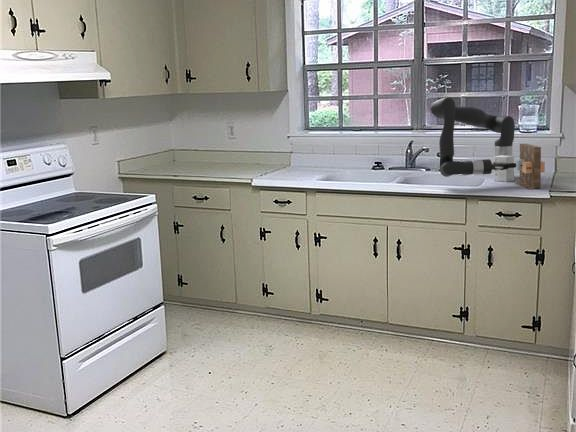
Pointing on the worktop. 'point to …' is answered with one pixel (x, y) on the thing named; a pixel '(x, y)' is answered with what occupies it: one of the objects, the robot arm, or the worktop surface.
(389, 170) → the worktop surface
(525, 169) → the button two
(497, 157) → the small box
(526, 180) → the walnut board
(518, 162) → the button one
